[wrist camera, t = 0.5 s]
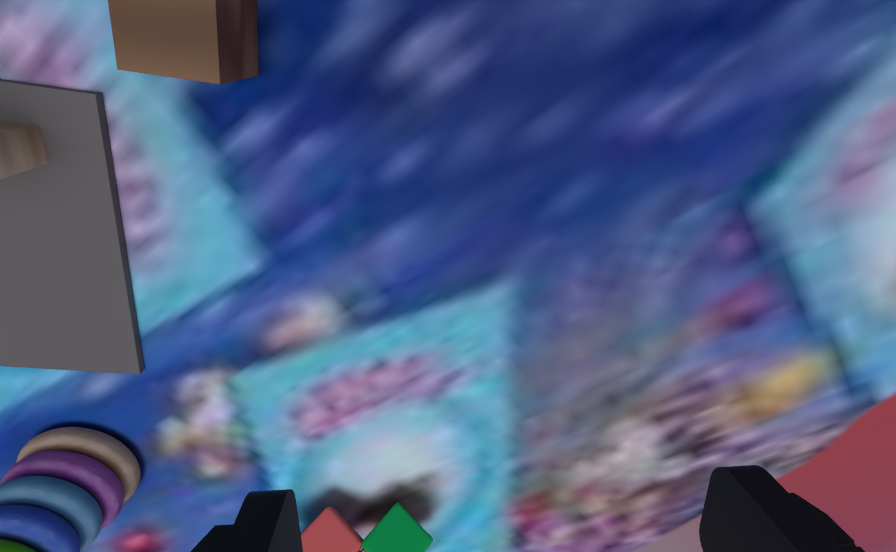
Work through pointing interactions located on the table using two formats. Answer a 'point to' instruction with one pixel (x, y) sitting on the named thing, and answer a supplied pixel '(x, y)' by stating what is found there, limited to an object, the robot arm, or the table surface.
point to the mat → (64, 242)
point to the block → (187, 38)
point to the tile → (20, 148)
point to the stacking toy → (64, 490)
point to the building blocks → (386, 547)
